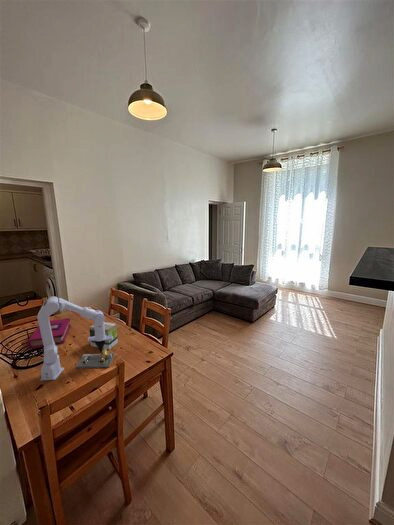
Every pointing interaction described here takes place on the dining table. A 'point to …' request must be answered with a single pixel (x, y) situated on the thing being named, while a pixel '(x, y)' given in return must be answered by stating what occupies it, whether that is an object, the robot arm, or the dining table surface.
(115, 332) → the tea box
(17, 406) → the dining table surface
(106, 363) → the bolt plate
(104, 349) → the slider handle
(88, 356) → the slider beam
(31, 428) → the dining table surface
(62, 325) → the book
